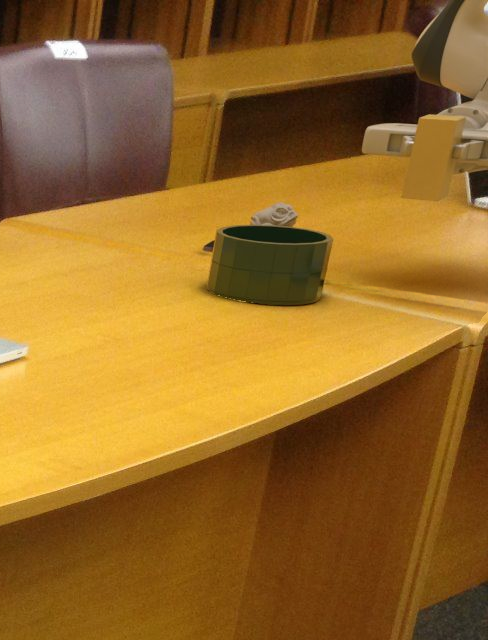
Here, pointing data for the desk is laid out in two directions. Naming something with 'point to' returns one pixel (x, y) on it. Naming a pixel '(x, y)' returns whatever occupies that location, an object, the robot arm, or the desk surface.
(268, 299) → the pot
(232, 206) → the desk surface
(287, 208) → the frog figurine
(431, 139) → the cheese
